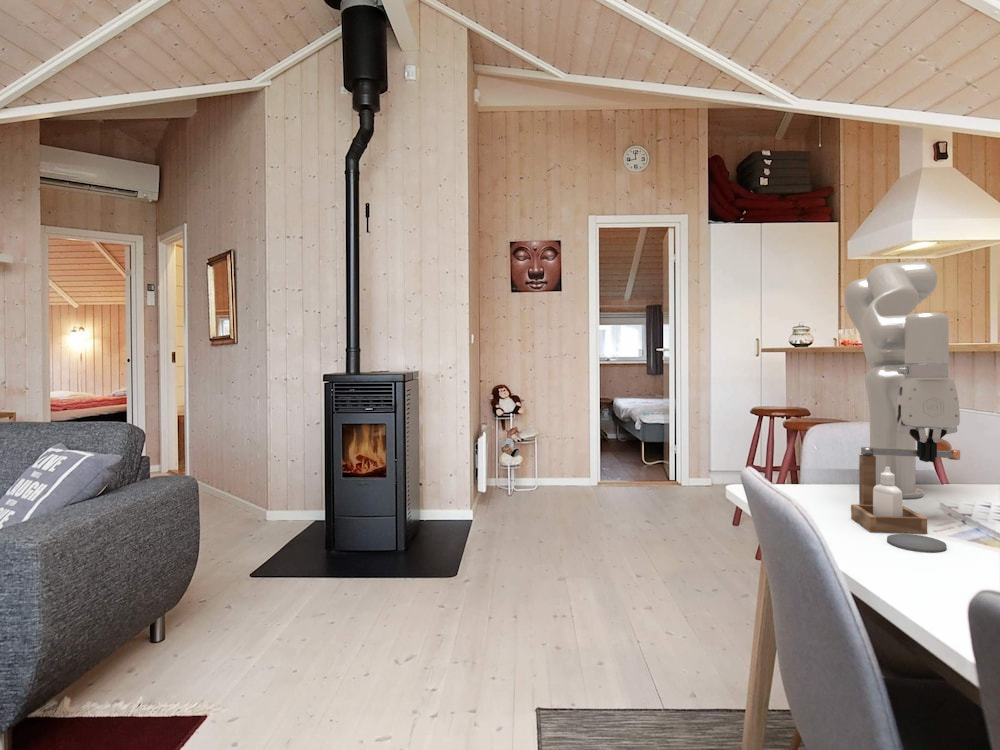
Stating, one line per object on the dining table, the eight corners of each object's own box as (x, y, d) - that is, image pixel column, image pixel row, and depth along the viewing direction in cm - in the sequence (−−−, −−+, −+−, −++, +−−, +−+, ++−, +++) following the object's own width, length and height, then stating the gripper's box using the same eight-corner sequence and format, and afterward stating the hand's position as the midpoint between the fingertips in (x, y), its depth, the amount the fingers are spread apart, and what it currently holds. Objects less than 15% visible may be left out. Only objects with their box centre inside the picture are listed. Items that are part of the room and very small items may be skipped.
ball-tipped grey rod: (861, 455, 132) (861, 447, 132) (860, 454, 134) (860, 445, 134) (961, 460, 124) (961, 451, 124) (958, 458, 127) (958, 449, 127)
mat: (878, 536, 117) (878, 533, 117) (931, 537, 115) (931, 534, 115) (900, 551, 108) (900, 548, 108) (957, 553, 106) (957, 550, 106)
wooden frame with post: (840, 510, 135) (840, 454, 135) (890, 512, 133) (890, 454, 133) (870, 532, 119) (870, 468, 119) (927, 534, 117) (927, 469, 117)
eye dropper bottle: (878, 529, 121) (878, 469, 121) (871, 521, 126) (871, 464, 126) (904, 530, 120) (904, 470, 119) (895, 522, 125) (895, 465, 125)
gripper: (893, 373, 124) (894, 463, 124) (977, 372, 120) (978, 464, 121) (879, 373, 131) (879, 458, 131) (957, 372, 128) (958, 459, 128)
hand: (927, 461), depth 126 cm, fingers closed
